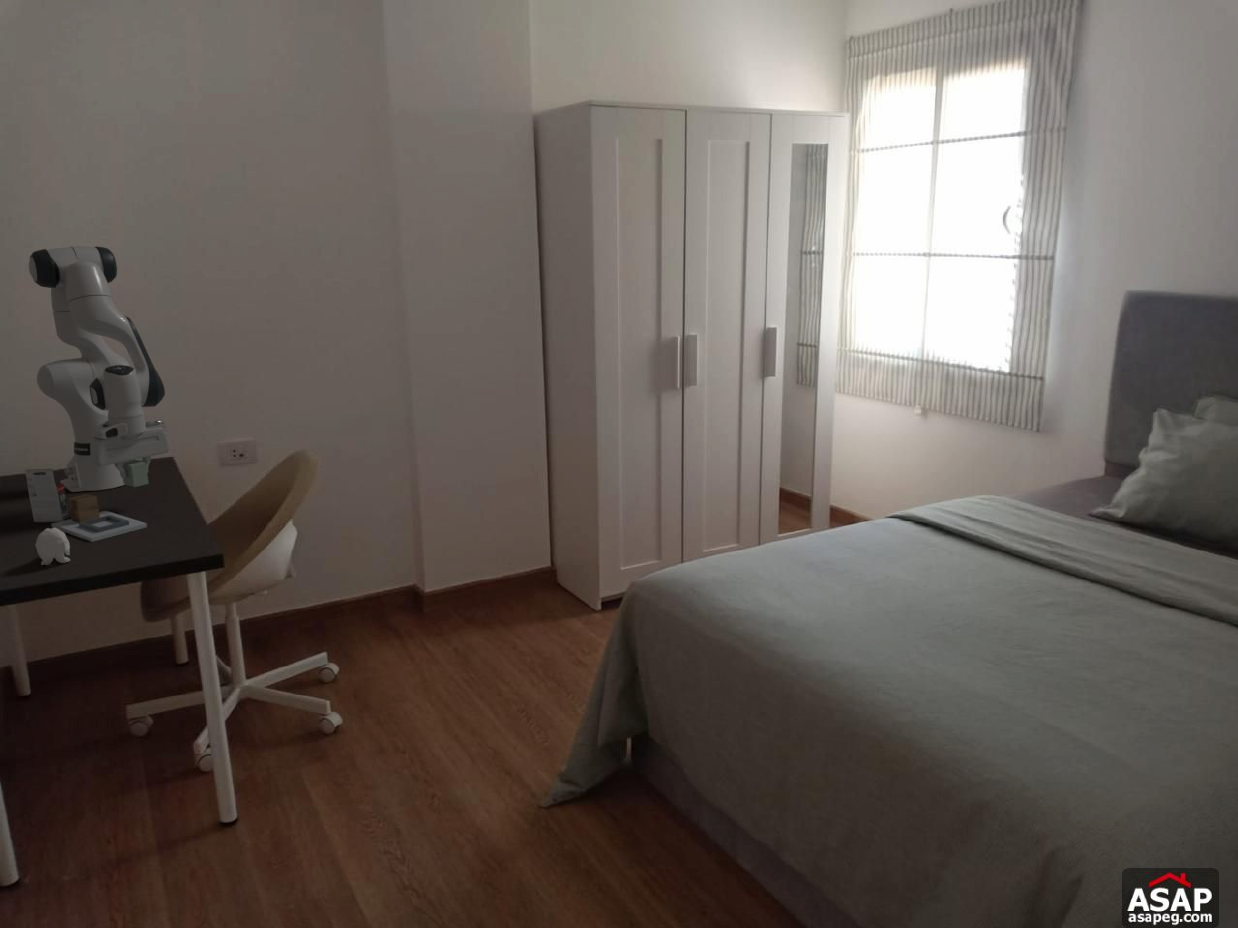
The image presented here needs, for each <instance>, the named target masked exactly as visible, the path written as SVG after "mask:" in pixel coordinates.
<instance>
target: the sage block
mask: <svg viewBox="0 0 1238 928" xmlns="http://www.w3.org/2000/svg"><path fill="white" fill-rule="evenodd" d="M121 467H122V468H123V469H124V470H126V471H128V473H129V477H126V478H123V484H125V485H126V486H129V487H132V488H133V487H134V488H137V487H141V486H145V485H149V475H148V473H147V468H146V463H145V462H144V461H141V460H138V459H135V460H130V461H126V462H123V466H121Z"/></svg>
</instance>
